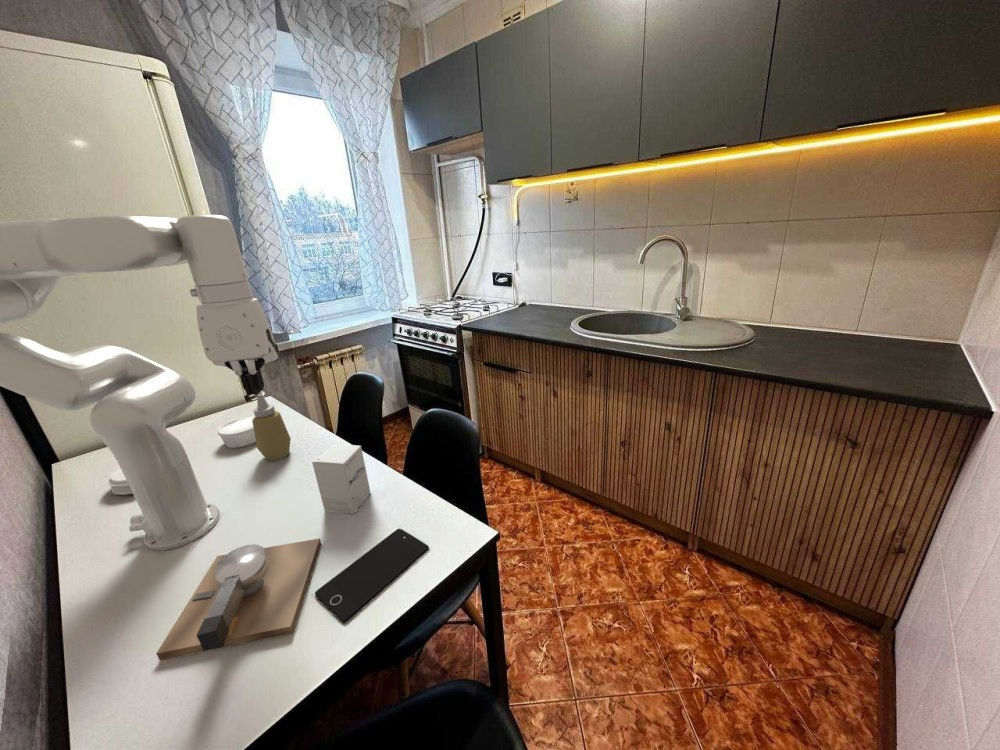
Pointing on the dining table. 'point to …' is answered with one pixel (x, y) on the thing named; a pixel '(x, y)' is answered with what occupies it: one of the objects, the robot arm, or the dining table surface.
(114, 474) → the lid
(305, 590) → the post base
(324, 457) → the supplement box
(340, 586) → the cell phone
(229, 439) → the ramekin
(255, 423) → the squeeze bottle
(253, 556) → the square-handled spoon
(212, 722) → the dining table surface
